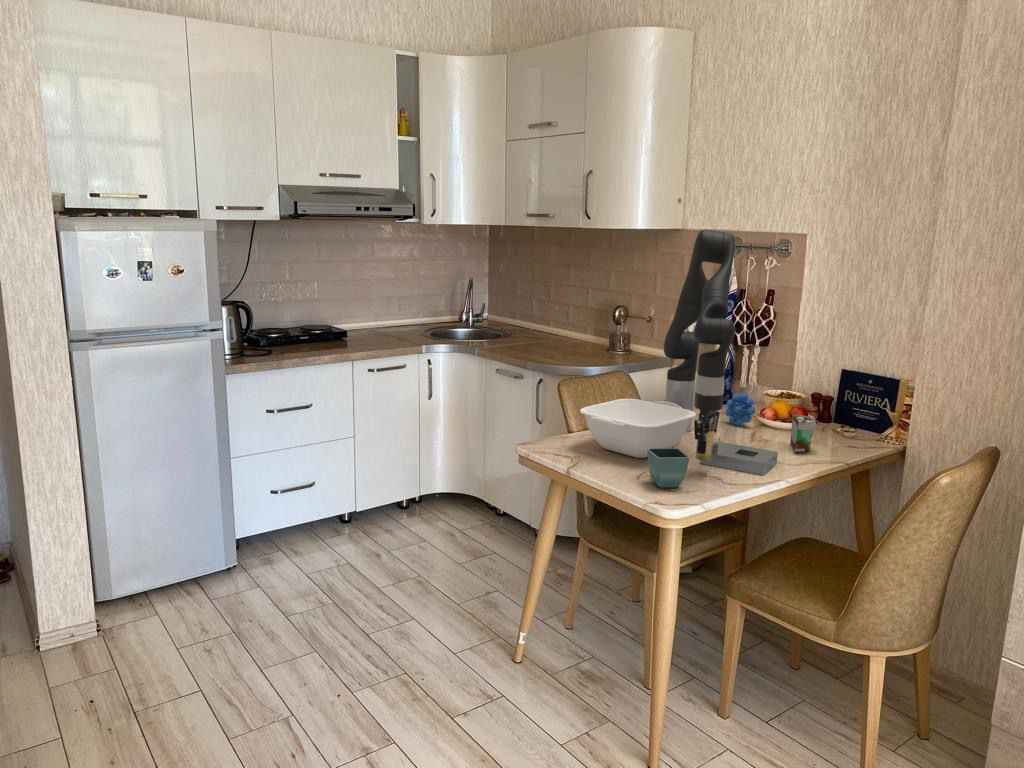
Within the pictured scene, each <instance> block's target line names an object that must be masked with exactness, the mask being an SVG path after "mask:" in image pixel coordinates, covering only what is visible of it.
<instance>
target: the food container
mask: <svg viewBox="0 0 1024 768" xmlns="http://www.w3.org/2000/svg"><path fill="white" fill-rule="evenodd" d="M791 420H792V421H791V430H790V431H791V432H790V444H789V445H790V449H792V452H793V453H794V455H795V454H796V455H804V454H808V453H809V452H810V451H811V450H810V449H811V444H812V439H813V433H814V429H816V428H817V423H816V421H815V419H814V418H813V417H810V416H806V415H803V414H795V413H792V417H791Z"/></svg>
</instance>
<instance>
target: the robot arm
mask: <svg viewBox="0 0 1024 768" xmlns="http://www.w3.org/2000/svg"><path fill="white" fill-rule="evenodd" d="M735 248H736V238H735V236H734V234H732V233H731V232H728V231H721V230H720V231H719V230H712V229H701V230H700V231H699V232H698V233H697V235H696V238H695V241H694V245H693V251H692V255H691V259H690V263H689V266H688V271H687V274H686V277H685V280H684V283H683V286H682V289H681V292H680V296H679V299H678V302H677V305H676V309H675V313H674V316H673V318H672V321H671V324H670V326H669V328H668V330H667V333H666V335H665V337H664V342H663V353H664V355H665V357H666V358H668V359H671V360H683V362H682V363H681V364H679V365H677V366H675V367H672V368H670V369H668V370H667V372H666V385H665V386H666V389H665V399H664V400H663V401H666V402H671V403H674V404H677V405H678V406H680V407H682V409H686V410H690V411H693V412H694V408H696V409H698V410H699V414H698V415H697V419H694V421H693V418H691V419H690V421H689V424H688V426H687V429H686V431H685V433H687V432H690V431H692V425H693V424H694V426H693V429H694V439H695V440H696V441H697V440H698V447H697V446H696V448H697V453H699V454H705V453H706V443H707V436H708V433H710V430H714V434H716V433H717V430H718V425H719V418H720V410H722V409H723V402H724V393H725V368H726V360H727V355H728V353H729V349H730V347H731V344H732V342H733V340H734V338H735V335H736V334H735V333H736V326H735V323H734V321H732V319H729V318H724V317H726V316H727V314H728V312H729V287H730V281H731V276H732V270H733V264H734V263H733V262H734V257H735V251H736V249H735ZM703 263H711V264H716V265H720V266H719V268H718V270H717V271H716V272H715V273H714V274H713V275H712V276H711V277H710V278H709V279H708V278H707V276H706V274H705V272H704V268H703ZM693 324H695V325H694V330H693V331H686V330H687V329H688V328H689V327H690V326H692V325H693ZM700 344H701V345H718V347H717V349H716V350H713V351H707V352H703V353H700V354H699V350H700V349H699V348H700ZM696 374H697V376H696ZM705 429H707V430H705ZM701 434H702V436H700V435H701Z"/></svg>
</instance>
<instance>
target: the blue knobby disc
mask: <svg viewBox="0 0 1024 768" xmlns="http://www.w3.org/2000/svg"><path fill="white" fill-rule="evenodd" d="M731 398H732V399H728V400H727V401H726V407H727V408H726V409H725V411H724V414H725V416H726V417H729V418H728V422H729V423H730V424H732V425H733V424H735V425H736V426H738V427H741V426H743V425H744V424H745V423H746V424H749V423H750V422H751V421H752V416H753V415H754V414H755V413H756V408H755V407H754V405H755V399H754V398H752V397H749V394H748V393H746V392H742V393H741V394H740V393H734V394H733V395H732V397H731Z"/></svg>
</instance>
